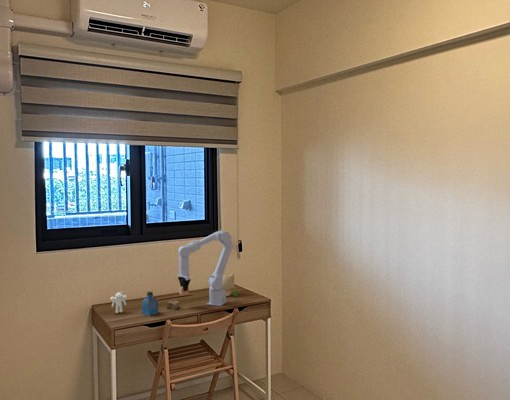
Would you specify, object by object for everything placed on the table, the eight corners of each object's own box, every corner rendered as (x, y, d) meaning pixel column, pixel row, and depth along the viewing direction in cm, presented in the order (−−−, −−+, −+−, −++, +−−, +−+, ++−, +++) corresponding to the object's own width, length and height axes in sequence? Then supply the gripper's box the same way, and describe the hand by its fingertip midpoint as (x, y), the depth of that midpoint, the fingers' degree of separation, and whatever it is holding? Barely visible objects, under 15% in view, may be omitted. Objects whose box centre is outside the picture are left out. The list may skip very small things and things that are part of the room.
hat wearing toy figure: (126, 310, 269) (125, 289, 269) (127, 311, 266) (127, 290, 265) (110, 312, 265) (109, 291, 265) (111, 314, 262) (111, 292, 261)
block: (186, 292, 278) (186, 286, 277) (188, 294, 273) (188, 287, 273) (179, 293, 276) (179, 286, 276) (181, 295, 272) (181, 288, 271)
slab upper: (179, 304, 274) (179, 301, 274) (174, 307, 269) (174, 303, 269) (171, 303, 276) (171, 300, 276) (167, 306, 271) (167, 302, 271)
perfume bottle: (151, 311, 267) (150, 290, 267) (158, 313, 263) (157, 291, 263) (142, 313, 262) (141, 292, 262) (149, 315, 259) (148, 294, 258)
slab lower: (178, 308, 274) (178, 304, 274) (174, 310, 269) (174, 307, 269) (171, 307, 276) (171, 303, 276) (166, 309, 271) (166, 306, 271)
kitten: (239, 294, 304) (239, 271, 303) (237, 298, 294) (236, 274, 293) (217, 293, 306) (217, 270, 305) (213, 297, 296) (213, 273, 295)
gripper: (174, 265, 279) (174, 287, 279) (180, 269, 266) (180, 293, 266) (185, 264, 282) (185, 286, 282) (192, 268, 268) (192, 292, 269)
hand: (184, 289), depth 275 cm, fingers closed on block, 4 cm apart
